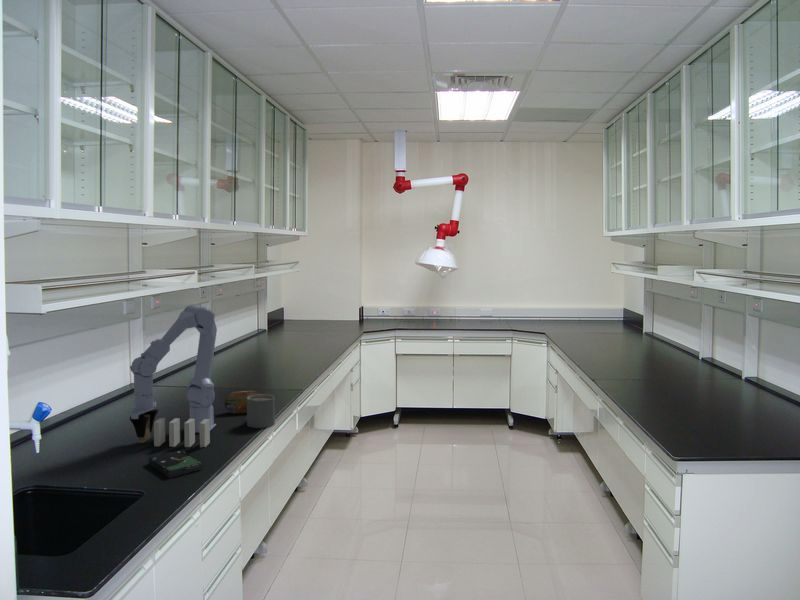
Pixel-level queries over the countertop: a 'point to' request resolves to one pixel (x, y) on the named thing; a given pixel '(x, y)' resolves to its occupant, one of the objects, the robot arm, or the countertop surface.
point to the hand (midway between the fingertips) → (144, 434)
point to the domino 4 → (204, 432)
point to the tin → (238, 401)
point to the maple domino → (147, 432)
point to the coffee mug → (260, 410)
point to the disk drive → (175, 463)
